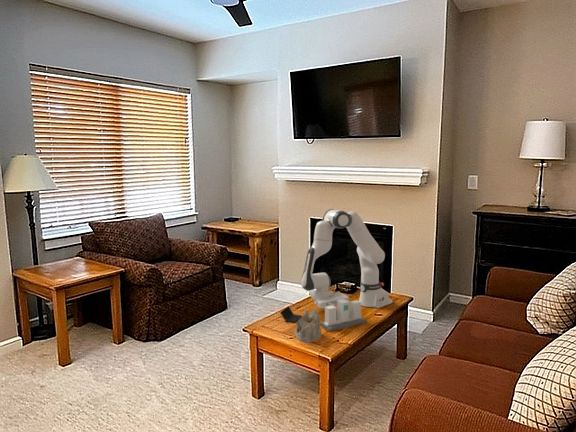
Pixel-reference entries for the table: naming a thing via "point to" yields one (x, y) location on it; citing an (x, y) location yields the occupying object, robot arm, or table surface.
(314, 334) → the stone castle model
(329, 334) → the table surface
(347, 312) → the block
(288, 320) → the handheld gaming console
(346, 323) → the white u-shaped stand
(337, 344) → the table surface
